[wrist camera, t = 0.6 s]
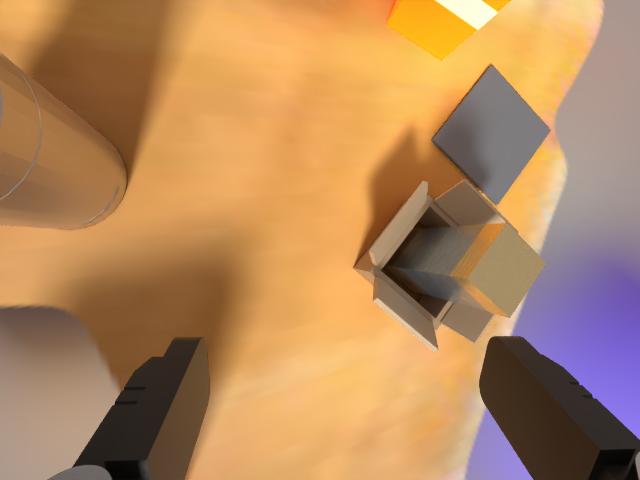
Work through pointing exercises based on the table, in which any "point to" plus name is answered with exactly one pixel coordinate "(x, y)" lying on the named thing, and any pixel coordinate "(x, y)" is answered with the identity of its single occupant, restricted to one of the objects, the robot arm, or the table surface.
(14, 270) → the table surface
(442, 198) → the carton
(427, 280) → the tall two-tone pillar
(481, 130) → the felt mat
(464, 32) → the orange juice
